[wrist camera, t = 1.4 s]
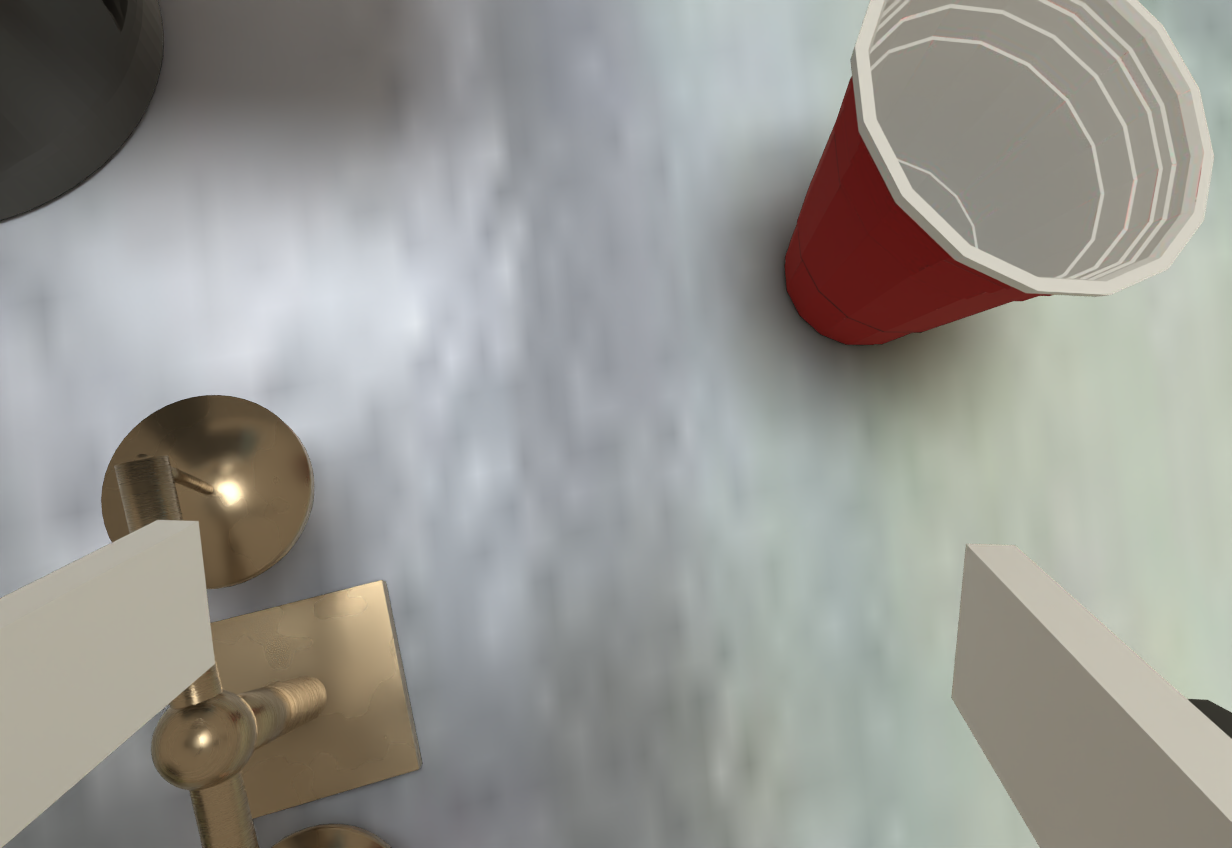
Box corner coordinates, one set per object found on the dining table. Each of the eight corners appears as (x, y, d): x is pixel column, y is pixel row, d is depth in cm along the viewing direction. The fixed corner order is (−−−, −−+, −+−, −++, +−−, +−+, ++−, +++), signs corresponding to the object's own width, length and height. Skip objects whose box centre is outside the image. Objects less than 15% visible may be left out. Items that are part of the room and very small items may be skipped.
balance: (457, 940, 25) (422, 1188, 14) (257, 1009, 24) (52, 1335, 13) (356, 431, 28) (264, 314, 17) (175, 470, 27) (-44, 371, 16)
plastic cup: (976, 433, 31) (1251, 327, 20) (710, 382, 30) (837, 238, 19) (987, 190, 34) (1233, -28, 23) (743, 136, 33) (870, -122, 22)
